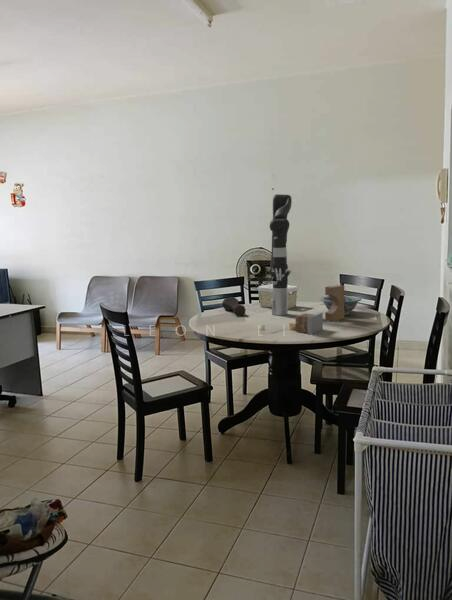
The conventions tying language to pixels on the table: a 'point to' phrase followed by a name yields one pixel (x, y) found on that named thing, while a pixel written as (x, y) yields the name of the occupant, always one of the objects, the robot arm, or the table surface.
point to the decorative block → (335, 303)
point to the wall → (314, 323)
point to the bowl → (349, 303)
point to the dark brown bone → (233, 306)
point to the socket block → (302, 322)
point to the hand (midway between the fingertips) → (280, 287)
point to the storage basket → (267, 295)
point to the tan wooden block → (293, 326)
